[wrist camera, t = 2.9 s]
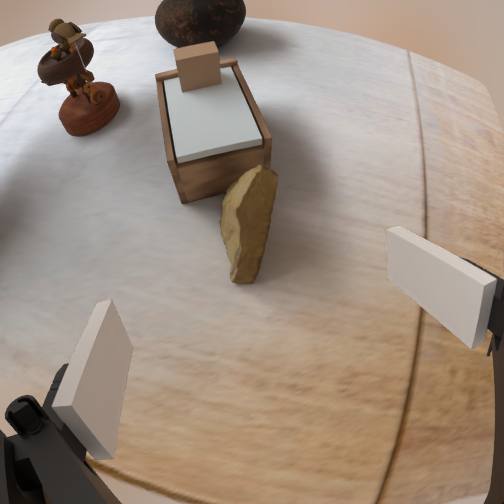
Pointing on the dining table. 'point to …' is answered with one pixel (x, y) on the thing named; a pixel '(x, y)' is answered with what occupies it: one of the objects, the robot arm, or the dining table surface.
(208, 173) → the box
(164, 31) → the glass bottle
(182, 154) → the lid
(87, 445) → the robot arm
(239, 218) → the rock
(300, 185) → the dining table surface
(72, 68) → the wooden bird figurine
